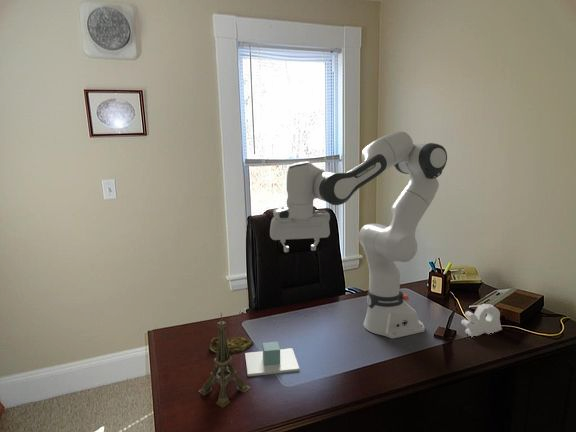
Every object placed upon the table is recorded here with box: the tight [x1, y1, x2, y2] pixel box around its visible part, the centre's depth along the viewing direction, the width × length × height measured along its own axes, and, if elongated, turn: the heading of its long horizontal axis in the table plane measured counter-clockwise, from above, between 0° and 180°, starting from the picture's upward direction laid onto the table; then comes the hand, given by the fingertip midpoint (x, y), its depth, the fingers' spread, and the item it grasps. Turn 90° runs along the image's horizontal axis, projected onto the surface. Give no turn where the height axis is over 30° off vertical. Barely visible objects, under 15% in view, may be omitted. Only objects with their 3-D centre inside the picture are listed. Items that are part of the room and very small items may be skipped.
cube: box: [262, 341, 281, 366], centre depth 121 cm, size 5×5×5 cm
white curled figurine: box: [460, 303, 503, 338], centre depth 138 cm, size 3×15×11 cm, turn 106°
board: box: [244, 347, 300, 377], centre depth 122 cm, size 16×12×1 cm
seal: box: [209, 336, 254, 354], centre depth 132 cm, size 9×5×15 cm
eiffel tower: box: [197, 313, 251, 409], centre depth 106 cm, size 11×11×25 cm
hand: (299, 251), depth 129 cm, fingers open, 8 cm apart
